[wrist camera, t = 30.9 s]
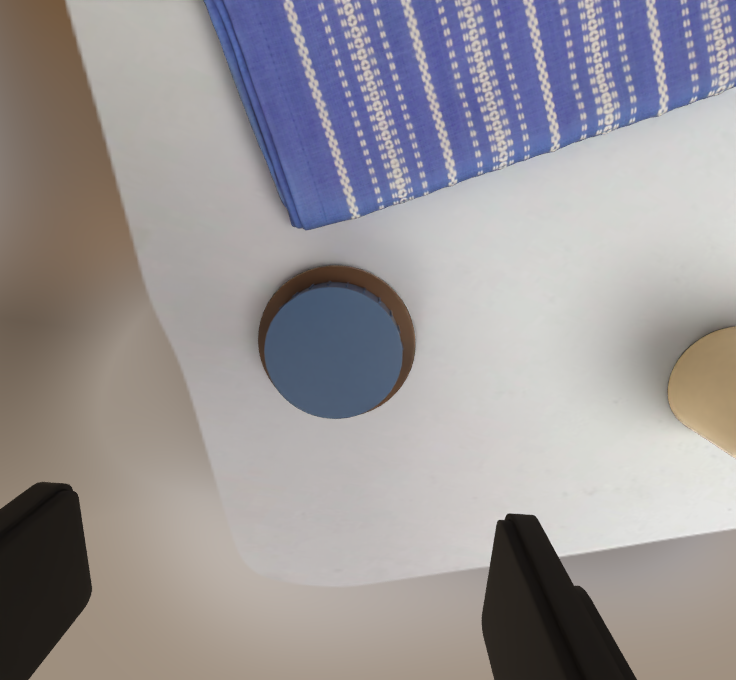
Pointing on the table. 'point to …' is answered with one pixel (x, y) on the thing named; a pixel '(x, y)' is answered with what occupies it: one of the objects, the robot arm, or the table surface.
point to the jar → (707, 389)
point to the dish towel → (453, 85)
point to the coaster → (356, 278)
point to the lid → (334, 350)
